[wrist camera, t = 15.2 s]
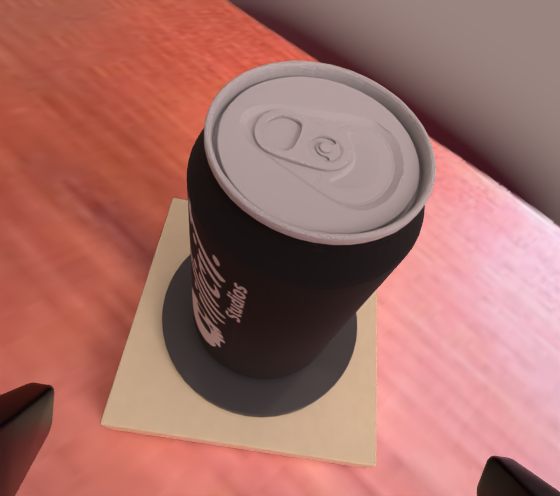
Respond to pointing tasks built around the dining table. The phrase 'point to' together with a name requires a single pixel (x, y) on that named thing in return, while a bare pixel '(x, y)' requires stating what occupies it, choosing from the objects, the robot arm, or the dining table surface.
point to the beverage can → (299, 210)
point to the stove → (239, 377)
